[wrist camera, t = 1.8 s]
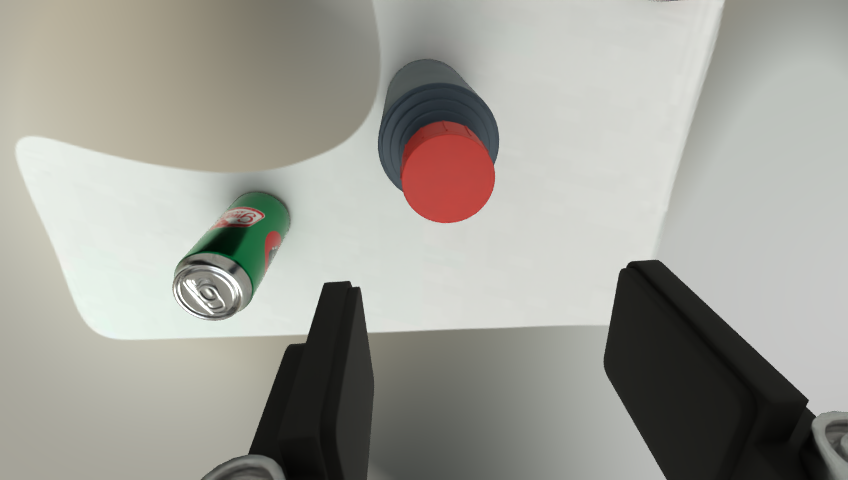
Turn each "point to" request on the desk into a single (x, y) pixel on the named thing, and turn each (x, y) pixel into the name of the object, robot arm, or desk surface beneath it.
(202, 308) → the soda can
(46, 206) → the desk surface
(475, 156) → the cap
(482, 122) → the bottle
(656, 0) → the pill bottle
